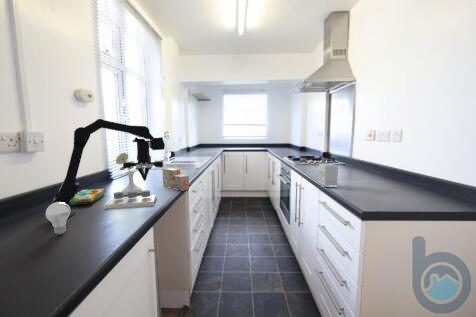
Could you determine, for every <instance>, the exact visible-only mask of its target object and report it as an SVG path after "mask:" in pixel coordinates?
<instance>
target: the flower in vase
mask: <svg viewBox="0 0 476 317" xmlns="http://www.w3.org/2000/svg"><path fill="white" fill-rule="evenodd" d="M128 160H129V154H128V153H127V152H123V153H120V154H119V155H118V156H117V157H116V159H115V162H116V164H117V165H123V163H124V162H126V161H128ZM134 167H135V166H131V167H130V168H123V166H121V167H120V168H119V171H125V170H126V169H127V171H125V173H126V174H127V177H128V184H127V185H126V186H125V187H124V188H123V189H121V190H120V192H123V194H124V196H128V192H130V191H137V195H138V194H141V191H143V188H141V187H140V186H139V185H137V184H135V183H134V175H135V172H136V170H132V169H134Z"/></svg>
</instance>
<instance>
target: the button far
mask: <svg viewBox="0 0 476 317" xmlns="http://www.w3.org/2000/svg"><path fill="white" fill-rule="evenodd" d="M150 195H151V190H142V191H141V193H140V196H141V197H149V196H150Z"/></svg>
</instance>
